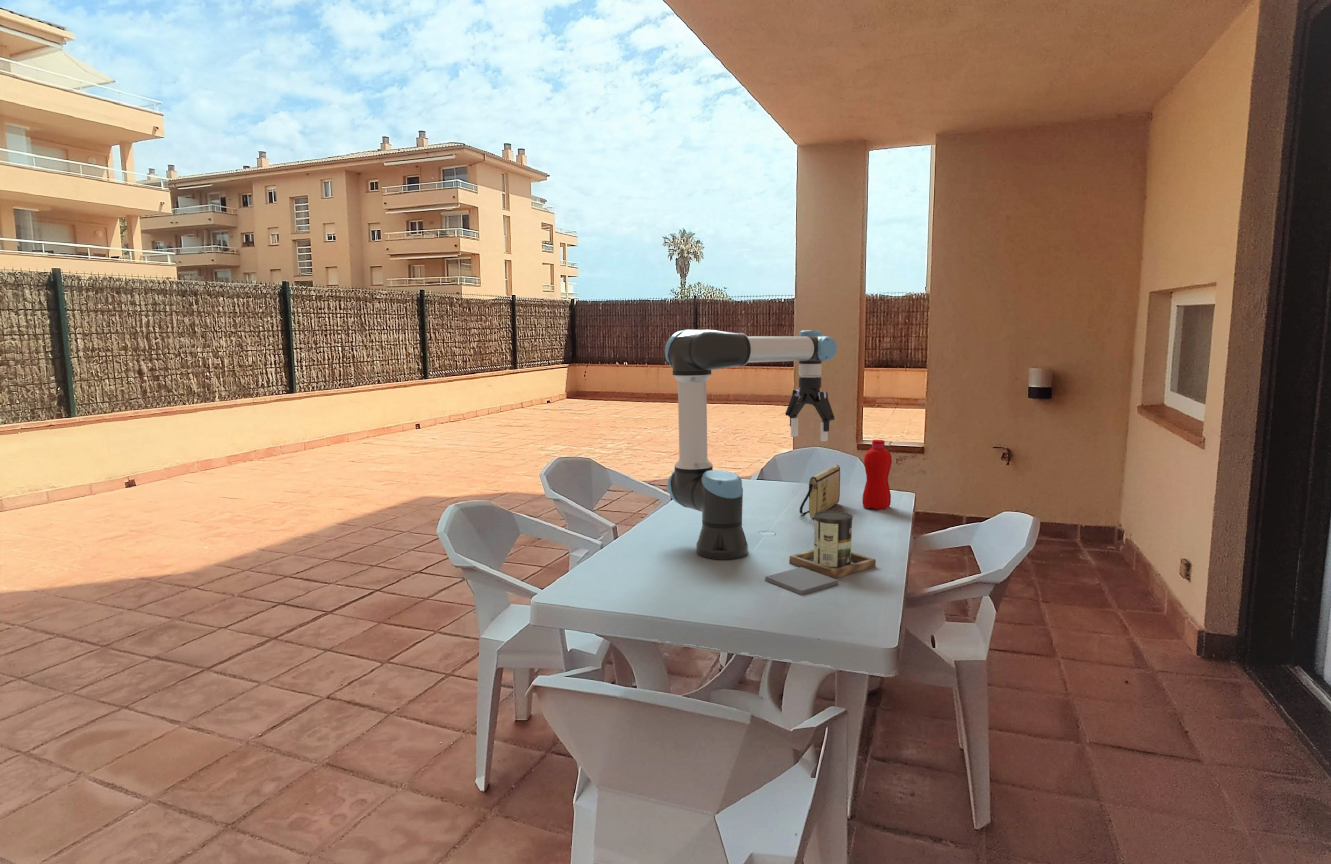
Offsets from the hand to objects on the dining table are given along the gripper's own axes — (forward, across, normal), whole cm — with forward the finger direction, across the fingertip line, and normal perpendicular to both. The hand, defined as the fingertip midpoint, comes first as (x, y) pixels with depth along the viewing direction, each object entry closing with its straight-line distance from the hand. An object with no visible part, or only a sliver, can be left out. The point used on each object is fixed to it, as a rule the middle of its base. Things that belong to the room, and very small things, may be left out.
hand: (808, 438), depth 245 cm
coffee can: (+28, -40, +32) cm, 58 cm away
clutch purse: (+28, +5, -12) cm, 31 cm away
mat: (+28, -44, +49) cm, 72 cm away
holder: (+28, -40, +32) cm, 58 cm away
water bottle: (+28, -4, -32) cm, 43 cm away
